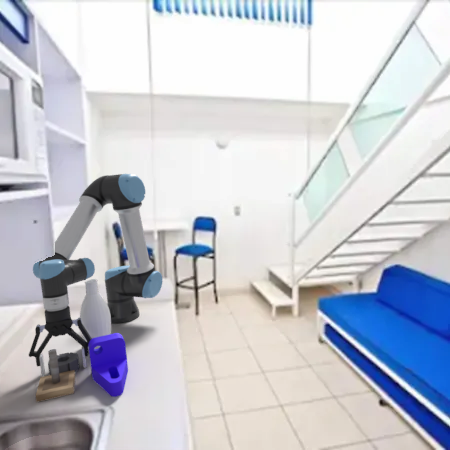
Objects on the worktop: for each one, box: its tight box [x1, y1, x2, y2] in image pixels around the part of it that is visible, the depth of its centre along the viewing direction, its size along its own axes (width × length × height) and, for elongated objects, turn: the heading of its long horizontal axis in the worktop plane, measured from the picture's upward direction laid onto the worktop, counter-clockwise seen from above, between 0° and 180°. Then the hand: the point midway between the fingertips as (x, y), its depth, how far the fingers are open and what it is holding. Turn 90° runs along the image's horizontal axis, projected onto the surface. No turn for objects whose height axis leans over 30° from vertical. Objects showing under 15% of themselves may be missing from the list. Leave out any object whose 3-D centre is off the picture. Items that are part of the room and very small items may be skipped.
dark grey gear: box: [47, 352, 80, 375], centre depth 125 cm, size 9×9×4 cm
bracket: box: [88, 332, 129, 398], centre depth 115 cm, size 18×11×12 cm, turn 25°
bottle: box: [79, 278, 112, 351], centre depth 141 cm, size 11×11×25 cm
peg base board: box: [35, 348, 76, 403], centre depth 113 cm, size 11×10×12 cm
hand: (64, 370), depth 125 cm, fingers open, 12 cm apart
